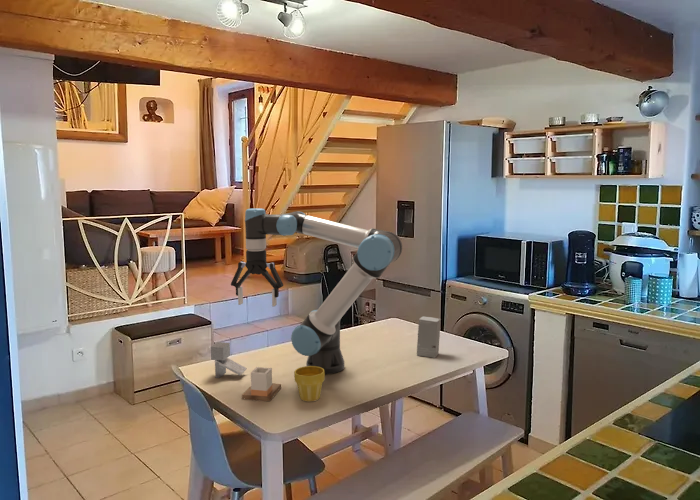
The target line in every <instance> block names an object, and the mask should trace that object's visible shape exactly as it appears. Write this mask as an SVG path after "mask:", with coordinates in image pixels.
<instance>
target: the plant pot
mask: <svg viewBox="0 0 700 500" xmlns="http://www.w3.org/2000/svg"><path fill="white" fill-rule="evenodd" d="M325 375H326V374H325V371H324V369H323V368H321V367H317V366H300V367H298V368H296V369H295V370H294V375H293V376H294V382H295V383H296V385H297V389H298V393H299V397H300V400H301V401H304V402H306V403H307V402H315V401H318V400H319V399H320V397H321V392H322V388H323V383H324V381H325V378H326V377H325Z"/></svg>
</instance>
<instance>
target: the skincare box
mask: <svg viewBox="0 0 700 500" xmlns="http://www.w3.org/2000/svg"><path fill="white" fill-rule="evenodd" d="M441 320H442V319H441V318H437V317H432V316H421V317H419V319H418V328H417V329H418V330H417V342H416V343H417V344H416V356H419V357H426V358H433V359H435V358H436V357H437V356H438V355H439V350H440V336H441V335H440V334H441V332H440V331H441Z"/></svg>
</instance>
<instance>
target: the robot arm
mask: <svg viewBox="0 0 700 500" xmlns="http://www.w3.org/2000/svg"><path fill="white" fill-rule="evenodd" d="M244 214H245V216H244V218H245V219H244V223H245V225H244V227H245V249H246V251H245V260H246V262H245V261H239V262H238V264H237V269H236V271H235V273H234V276H233V277H232V280H231V283H230V285H231V286H232V287H234V288H235V295H236V297H238V298H237V300H238V301H237V302H238V306H239V305H240V306H241V305H243V304H244V296H243V295H244V294H243V293H244V291H243V289H244V288H243V286H242V284H243V283H244V282H245V281H246V279H247V278H248V277H249V276H250V275H262V276H263V277H264V279H266V281H267V282H268V283H269V284H270V285H271V287H272V289H271V301H272V302H271V303H272V305H271V306H272V307H276V306H277V298H278V297H279V296H280V295H279V292H280V290H279V289H281V288H284V283H283V281H282V279H281V277H280V274H279V273H278V271H277V269H276V264H275V262H270V263H268V262H267V250H266V249H267V235H270V236H271V235H273V236H274V235H275V236H284V237H285V236H294V234H295V233H297V234H302V235H305V236H310V237H314V238H317V239H321V240H325V241H328V242H329V241H330V242H332V243H337V244H339V245H340V244H341V245H343V246H348V247H352V248H355V249H357V251H356V253H355V254H354V255H353V256H352V262H353V264H352V265H351V266H350V267H349V269H348V270H347V271H346V272H345V274H344V275H343V277H342V278H341V279H340V281H339V282H337V284H336V286H335V287H334V288H333V289H332V291H330V294H328V296H327V297H326V298H325V300H324V301H323V302H322V303H321V305H320V306H319V307H318V309H313V310H311V311H310V312H309V314H307V316H306V318H304V320H303V321H302V323H300V324H299V325H298V326H296V327H295V328H294V330H293V331H292V332H291V335H290V339H291V344H292V347H293V348H294V350H295V351H296V352H297V353H298V354H300V355H301V356H304V357H305V356H307V360H306V366H317V367H321V368H323V369H324V371H325V375H330V374H337V373H339V372H341V371H343V370H344V369H345V359H344V356H343V353H342V350H341V319H342V317H343V316H344V315H345V314H346V313H347V311H348V310H349V309H350V308H351V307H352V305H353V304H354V303H355V301H356V300H357V299H358V298H359V296H361V294H362V293H363V291H364V290H365V289H366V288H367V286H369V284H370V283H371V282H372V280H373V279H374V280H375V279H380V277H381V276H382V275H383V274H384V272H385V271H386V270H387V269H388V267H389V266H390V265H391V264H392V263H394V262H396V261H397V260H398V259H399V258H400V257H401V255H402V252H403V243H402V240H401V238H400V237H399V236H398V234H396V233H394V232H393V231H388V230H384V229H377V228H373V227H372V228H370V229H365V228H362V227H357V226H355V225H354V226H353V225H348V224H345V223H341V222H337V221H333V220H330V219H329V220H328V219H324V218H321V217H316V216H314V215H313V216H312V215H308V214H306V213H304V212H303V211H293V212H292V211H291V212H287V213H281V214H268V213H267V212H266V210H265V209H264V208H257V207H256V208H247V209H246V210H245V212H244ZM267 267H268V269H269V271H270V272H271V274H270V272H269V271H268V270H267ZM244 268H246V271H245V272H244V274H243V275H242V271H243V269H244ZM241 275H242V276H241ZM271 275H272V276H271ZM240 276H241V278H240ZM239 278H240V279H239Z"/></svg>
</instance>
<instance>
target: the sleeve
mask: <svg viewBox="0 0 700 500" xmlns="http://www.w3.org/2000/svg"><path fill="white" fill-rule="evenodd" d="M272 383H273V368H272V367H259V366H256V367H255V368H254V369H252V371H251V372H250V386H251V395H255V396H268V394H269V393H270V392H271V391H272Z"/></svg>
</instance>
